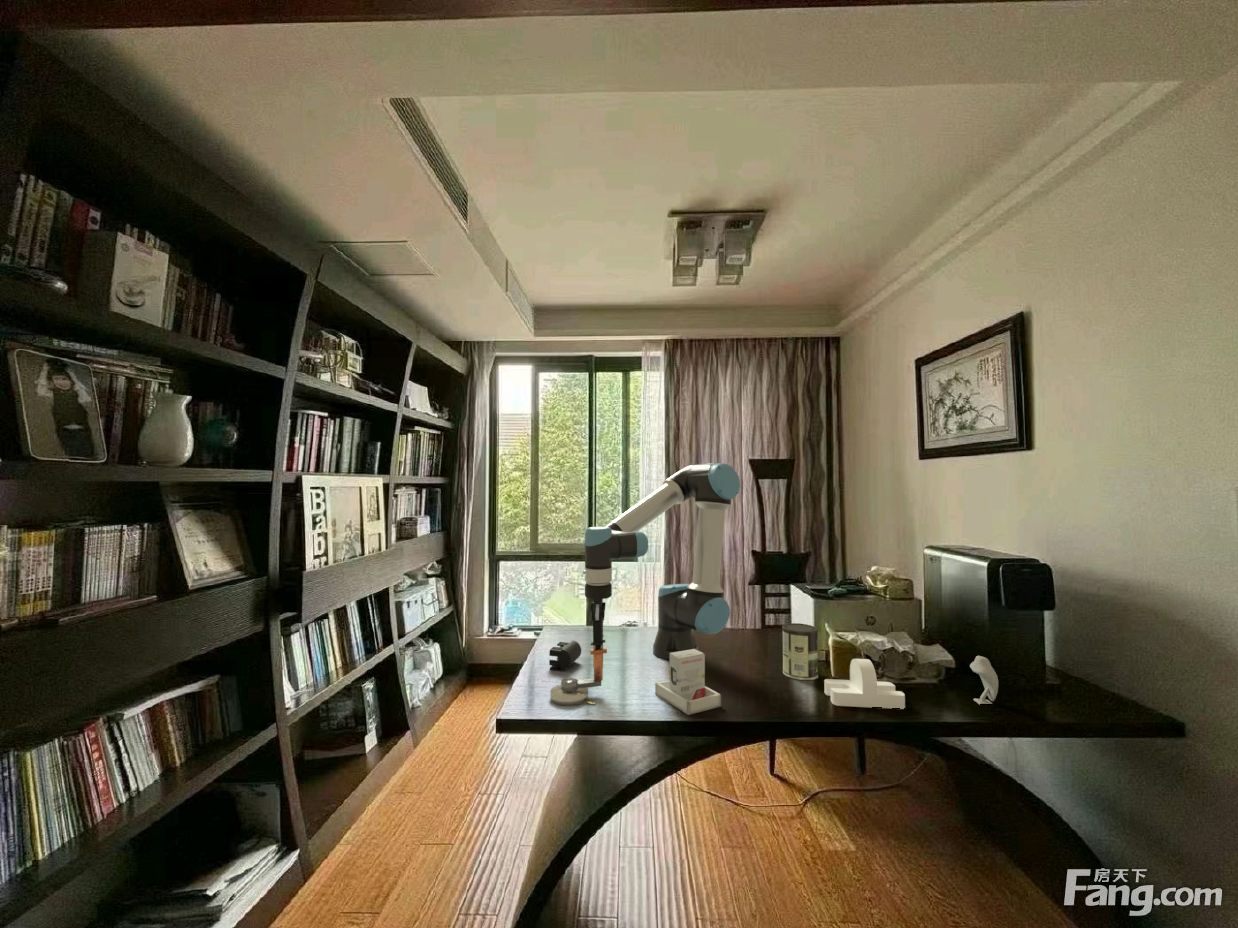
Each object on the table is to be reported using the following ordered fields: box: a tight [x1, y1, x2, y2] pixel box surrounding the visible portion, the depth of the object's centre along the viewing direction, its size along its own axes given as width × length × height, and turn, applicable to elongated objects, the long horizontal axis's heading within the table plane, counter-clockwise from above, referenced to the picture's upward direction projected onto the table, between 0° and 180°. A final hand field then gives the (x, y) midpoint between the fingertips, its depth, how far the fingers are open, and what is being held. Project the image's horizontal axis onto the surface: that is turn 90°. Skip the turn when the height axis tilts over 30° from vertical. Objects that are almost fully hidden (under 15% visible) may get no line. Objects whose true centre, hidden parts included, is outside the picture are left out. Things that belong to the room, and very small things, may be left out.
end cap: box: [548, 639, 582, 672], centre depth 161 cm, size 10×7×7 cm
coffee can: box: [781, 622, 819, 681], centre depth 156 cm, size 10×10×14 cm
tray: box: [654, 679, 722, 716], centre depth 136 cm, size 11×15×3 cm
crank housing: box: [549, 683, 596, 707], centre depth 136 cm, size 10×12×2 cm
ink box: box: [668, 649, 706, 701], centre depth 136 cm, size 9×5×12 cm, turn 117°
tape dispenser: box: [823, 658, 906, 710], centre depth 138 cm, size 10×18×11 cm, turn 84°
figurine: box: [969, 655, 999, 705], centre depth 137 cm, size 8×5×12 cm
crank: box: [560, 647, 608, 692], centre depth 138 cm, size 12×4×10 cm, turn 109°
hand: (598, 667), depth 143 cm, fingers closed
